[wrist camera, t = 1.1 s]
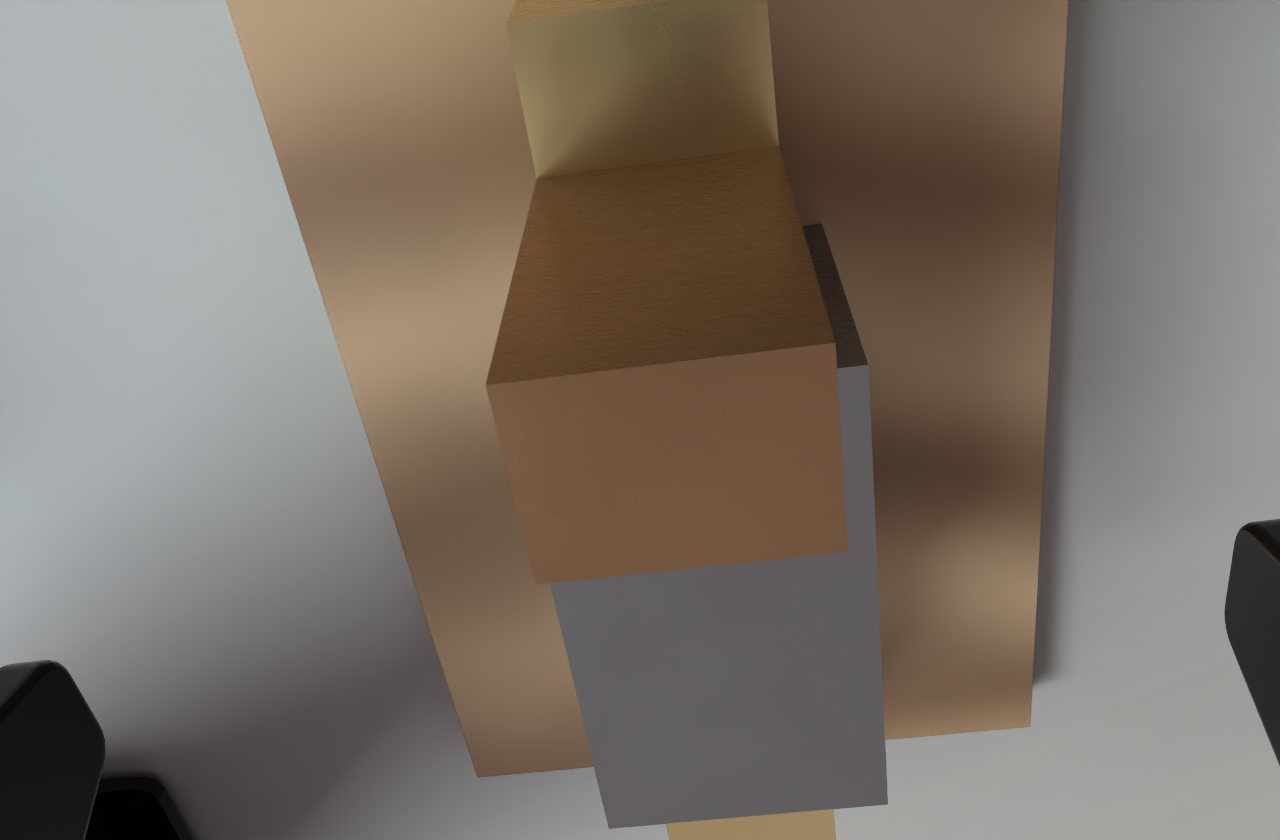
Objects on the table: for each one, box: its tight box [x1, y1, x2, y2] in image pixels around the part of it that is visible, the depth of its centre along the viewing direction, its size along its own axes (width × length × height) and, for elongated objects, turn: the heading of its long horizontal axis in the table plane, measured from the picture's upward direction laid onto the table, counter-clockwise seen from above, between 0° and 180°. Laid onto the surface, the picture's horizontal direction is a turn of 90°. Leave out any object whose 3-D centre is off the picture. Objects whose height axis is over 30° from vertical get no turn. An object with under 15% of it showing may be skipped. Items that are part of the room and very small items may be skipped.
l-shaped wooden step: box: [485, 0, 848, 840], centre depth 17 cm, size 17×3×9 cm, turn 8°
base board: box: [226, 0, 1068, 777], centre depth 20 cm, size 28×13×1 cm, turn 8°
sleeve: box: [550, 223, 888, 829], centre depth 20 cm, size 9×5×5 cm, turn 8°
